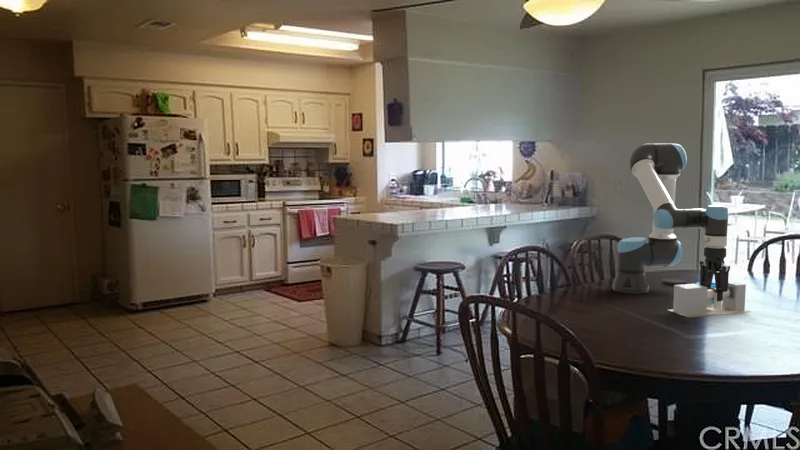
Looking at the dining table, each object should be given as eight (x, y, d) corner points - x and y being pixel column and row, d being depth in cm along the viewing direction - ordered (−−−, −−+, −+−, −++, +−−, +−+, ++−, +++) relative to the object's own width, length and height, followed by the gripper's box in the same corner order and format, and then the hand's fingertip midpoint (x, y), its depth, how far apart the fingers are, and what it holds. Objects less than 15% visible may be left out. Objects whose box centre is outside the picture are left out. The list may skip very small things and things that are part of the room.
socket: (735, 311, 241) (736, 285, 240) (722, 307, 248) (723, 281, 247) (744, 310, 242) (745, 284, 241) (730, 306, 249) (731, 281, 248)
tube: (690, 302, 237) (691, 291, 237) (682, 300, 241) (683, 288, 241) (730, 299, 241) (731, 288, 241) (722, 297, 246) (722, 285, 245)
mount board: (666, 312, 245) (666, 309, 245) (728, 307, 252) (728, 304, 251) (687, 319, 233) (687, 317, 233) (751, 314, 240) (751, 311, 240)
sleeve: (685, 315, 236) (686, 288, 235) (673, 311, 242) (674, 285, 241) (706, 313, 238) (707, 287, 237) (693, 309, 245) (694, 283, 244)
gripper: (690, 244, 247) (688, 303, 250) (723, 250, 231) (720, 313, 233) (707, 243, 249) (704, 301, 252) (741, 249, 232) (738, 312, 235)
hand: (712, 307), depth 242 cm, fingers closed on tube, 4 cm apart
